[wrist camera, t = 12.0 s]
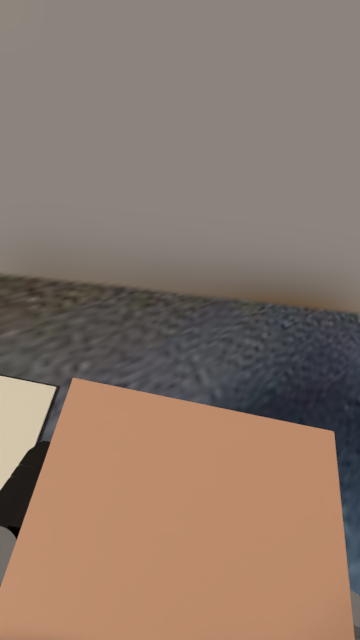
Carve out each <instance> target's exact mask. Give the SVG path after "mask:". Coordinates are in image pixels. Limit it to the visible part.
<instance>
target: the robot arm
mask: <svg viewBox="0 0 360 640" xmlns="http://www.w3.org/2000/svg"><path fill="white" fill-rule="evenodd" d="M50 443H51V442H48V441H42V442H40V443H39V444H37V445H36V446H34V447H33V448H31V449H30V450H28V452H27V453H26V454H25V456H24V457H23V459H22V460H21V461H20V463H19V465H18V466H17V467H16V469H15V470H14V471H13V473H12V474H11V477H10V478H9V479H8V480H7V481H6V483H5V484H4V486H3V487H2V488H1V490H0V587H1V584H2V581H3V578H4V575H5V572H6V570H7V567H8V564H9V561H10V558H11V555H12V552H13V549H14V547H15V544H16V541H17V538H18V535H19V532H20V529H21V526H22V524H23V521H24V518H25V515H26V512H27V509H28V506H29V503H30V501H31V498H32V495H33V492H34V489H35V486H36V483H37V480H38V478H39V475H40V472H41V469H42V466H43V463H44V460H45V457H46V455H47V452H48V449H49V446H50ZM350 597H351V607H352V617H353V627H354V637H355V640H360V596H359V595H358V594H356V593H355V592H353V591H352V590H350Z"/></svg>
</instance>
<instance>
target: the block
mask: <svg viewBox="0 0 360 640" xmlns="http://www.w3.org/2000/svg"><path fill="white" fill-rule="evenodd" d="M0 640H355V637H354V627H353V617H352V607H351V597H350V586H349V576H348V566H347V556H346V546H345V536H344V526H343V516H342V506H341V496H340V486H339V476H338V466H337V456H336V446H335V436H334V431H330V430H325V429H320V428H315V427H310V426H305V425H300V424H296V423H291V422H286V421H281V420H276V419H271V418H266V417H261V416H257V415H252V414H247V413H242V412H237V411H232V410H227V409H223V408H218V407H213V406H208V405H203V404H198V403H193V402H189V401H184V400H179V399H174V398H169V397H164V396H159V395H155V394H150V393H145V392H140V391H135V390H130V389H125V388H121V387H116V386H111V385H106V384H101V383H96V382H91V381H87V380H82V379H77V378H73V380H72V383H71V385H70V388H69V391H68V394H67V397H66V400H65V403H64V406H63V409H62V411H61V414H60V417H59V420H58V423H57V426H56V429H55V432H54V434H53V437H52V440H51V443H50V446H49V449H48V452H47V455H46V457H45V460H44V463H43V466H42V469H41V472H40V475H39V478H38V480H37V483H36V486H35V489H34V492H33V495H32V498H31V501H30V503H29V506H28V509H27V512H26V515H25V518H24V521H23V524H22V526H21V529H20V532H19V535H18V538H17V541H16V544H15V547H14V549H13V552H12V555H11V558H10V561H9V564H8V567H7V570H6V572H5V575H4V578H3V581H2V584H1V587H0Z"/></svg>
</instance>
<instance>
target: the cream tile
mask: <svg viewBox="0 0 360 640" xmlns="http://www.w3.org/2000/svg"><path fill="white" fill-rule="evenodd" d="M55 391H56V387H54V386H49V385H44V384H39V383H34V382H29V381H24V380H19V379H14V378H9V377H4V376H0V490H1V488H2V487H3V486H4V484H5V483H6V481H7V480H8V479H9V478H10V477H11V474H12V473H13V471H14V470H15V469H16V467H17V466H18V465H19V463H20V461H21V460H22V459H23V457H24V456H25V454H26V453H27V452H28V450H30V449H31V448H33V447H34V446H36V443H37V440H38V437H39V435H40V432H41V429H42V427H43V424H44V421H45V418H46V416H47V413H48V410H49V407H50V405H51V402H52V399H53V397H54V394H55Z"/></svg>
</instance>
